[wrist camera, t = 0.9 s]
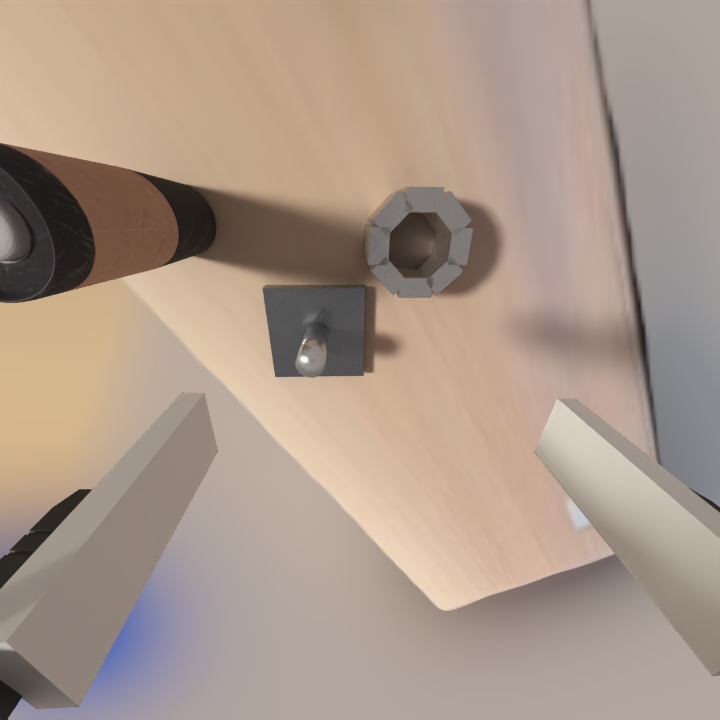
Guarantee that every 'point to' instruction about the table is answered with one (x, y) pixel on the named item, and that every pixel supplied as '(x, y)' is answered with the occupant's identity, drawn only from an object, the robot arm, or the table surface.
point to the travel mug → (89, 223)
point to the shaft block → (316, 329)
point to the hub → (447, 243)
